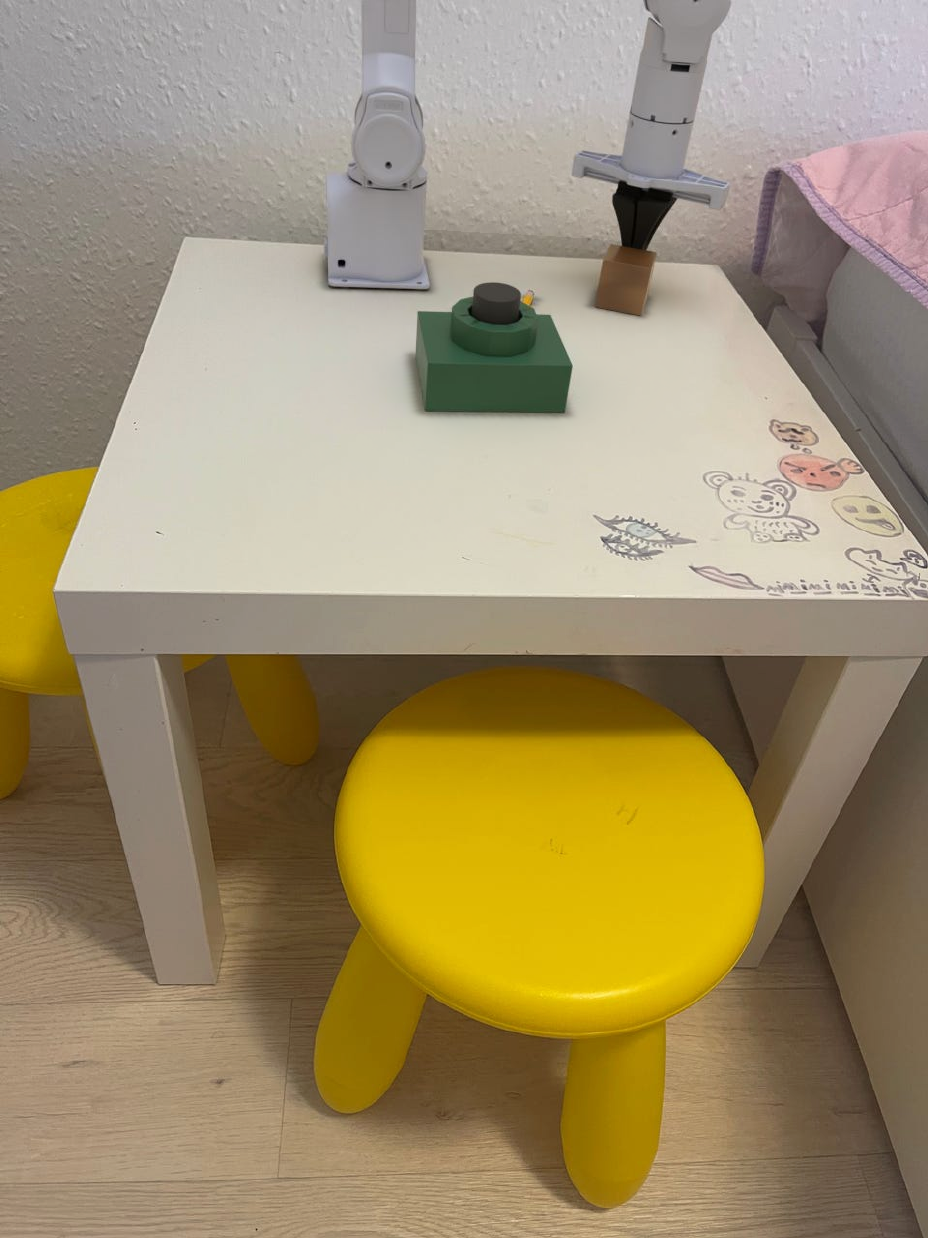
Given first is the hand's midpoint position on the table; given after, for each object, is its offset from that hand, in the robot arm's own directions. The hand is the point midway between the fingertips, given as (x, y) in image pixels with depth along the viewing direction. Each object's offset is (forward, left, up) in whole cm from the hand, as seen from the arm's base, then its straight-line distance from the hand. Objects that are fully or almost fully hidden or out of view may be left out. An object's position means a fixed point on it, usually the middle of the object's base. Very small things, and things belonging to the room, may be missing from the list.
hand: (631, 267), depth 91 cm
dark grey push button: (-17, -20, +4) cm, 27 cm away
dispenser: (-17, -20, -2) cm, 27 cm away
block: (-2, -4, -2) cm, 4 cm away
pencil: (-12, -7, -2) cm, 14 cm away
